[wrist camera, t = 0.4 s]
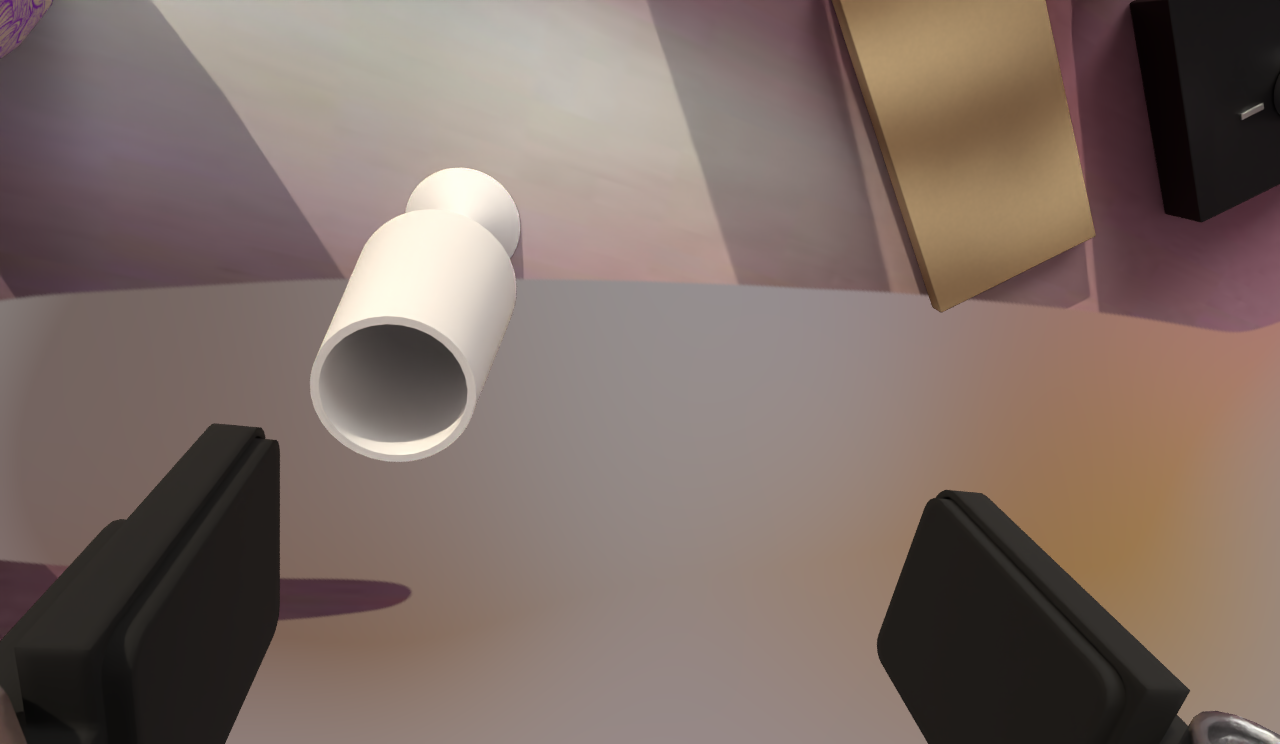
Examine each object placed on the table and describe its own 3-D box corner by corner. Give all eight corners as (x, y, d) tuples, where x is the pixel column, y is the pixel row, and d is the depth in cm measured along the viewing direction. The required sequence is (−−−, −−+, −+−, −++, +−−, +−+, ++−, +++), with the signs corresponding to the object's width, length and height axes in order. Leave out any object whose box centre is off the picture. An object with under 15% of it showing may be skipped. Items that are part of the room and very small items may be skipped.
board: (822, -27, 41) (830, -29, 40) (1005, -124, 41) (1018, -129, 39) (932, 307, 50) (941, 313, 49) (1083, 232, 49) (1096, 236, 48)
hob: (1128, 3, 44) (1170, -1, 41) (1320, -96, 43) (1376, -107, 40) (1164, 214, 50) (1203, 223, 47) (1334, 129, 49) (1385, 134, 46)
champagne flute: (498, 296, 46) (467, 515, 24) (389, 256, 44) (247, 453, 22) (537, 194, 44) (542, 330, 22) (424, 148, 42) (307, 245, 20)
